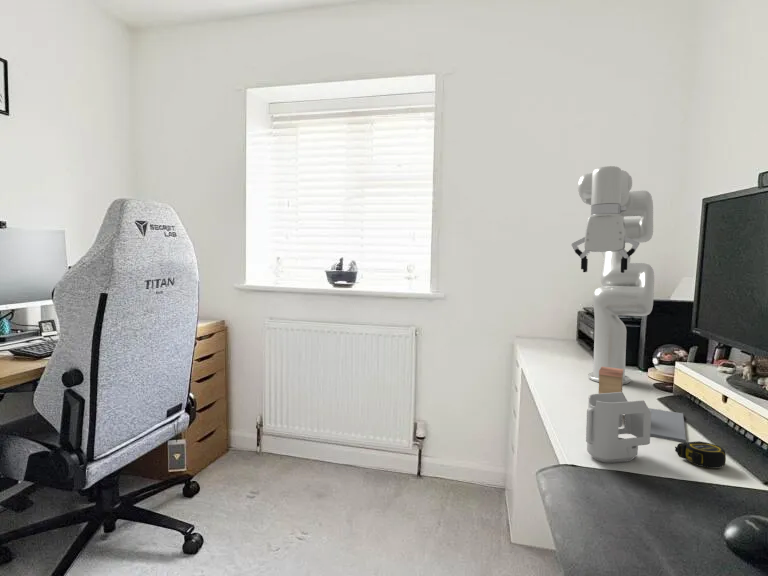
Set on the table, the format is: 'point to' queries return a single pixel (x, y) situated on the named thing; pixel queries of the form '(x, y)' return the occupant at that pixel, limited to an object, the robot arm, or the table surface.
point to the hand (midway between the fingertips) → (603, 272)
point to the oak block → (610, 380)
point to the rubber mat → (667, 425)
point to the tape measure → (702, 454)
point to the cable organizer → (616, 427)
